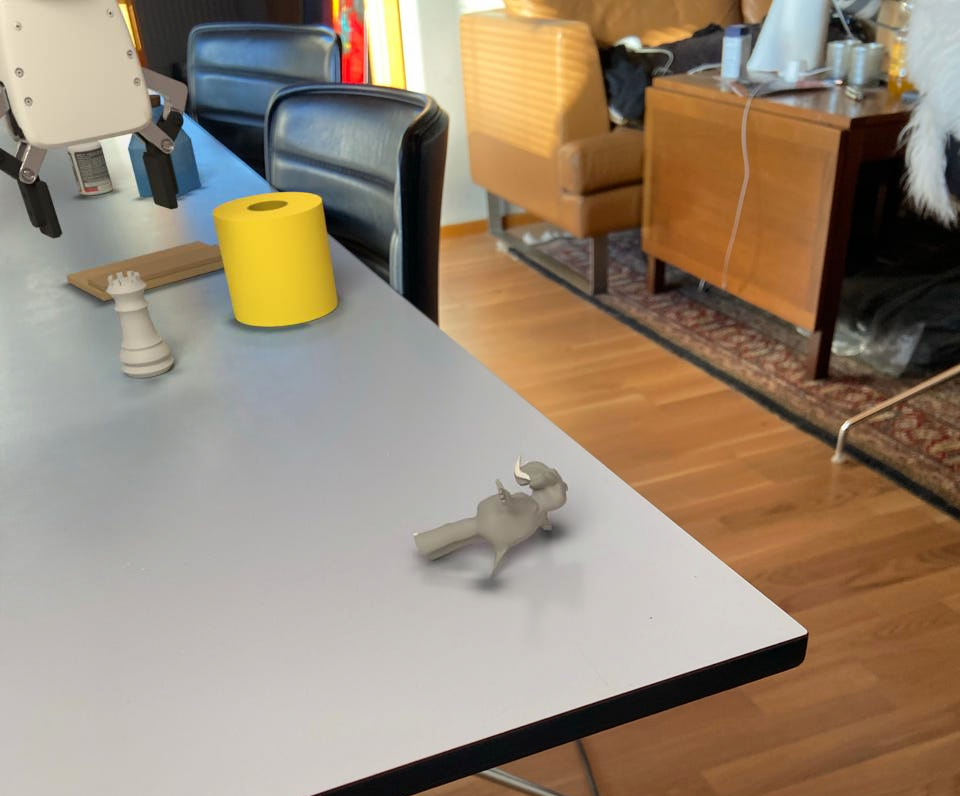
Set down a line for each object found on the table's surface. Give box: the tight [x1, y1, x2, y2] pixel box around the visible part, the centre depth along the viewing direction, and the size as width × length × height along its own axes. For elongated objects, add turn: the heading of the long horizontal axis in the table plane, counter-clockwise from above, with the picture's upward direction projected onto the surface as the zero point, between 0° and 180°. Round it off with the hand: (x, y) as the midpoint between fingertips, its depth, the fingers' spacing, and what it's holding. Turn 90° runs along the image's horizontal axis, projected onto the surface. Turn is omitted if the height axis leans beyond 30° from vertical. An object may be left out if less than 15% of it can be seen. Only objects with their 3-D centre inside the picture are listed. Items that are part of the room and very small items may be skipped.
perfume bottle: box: [127, 93, 202, 198], centre depth 140 cm, size 6×6×12 cm
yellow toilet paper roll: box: [211, 191, 339, 328], centre depth 96 cm, size 10×10×9 cm
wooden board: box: [66, 240, 224, 302], centre depth 111 cm, size 16×10×1 cm, turn 129°
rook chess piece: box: [106, 271, 174, 379], centre depth 86 cm, size 4×4×8 cm
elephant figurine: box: [412, 454, 569, 580], centre depth 58 cm, size 10×6×9 cm
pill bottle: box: [66, 140, 114, 196], centre depth 145 cm, size 5×5×8 cm
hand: (110, 220), depth 80 cm, fingers open, 9 cm apart
